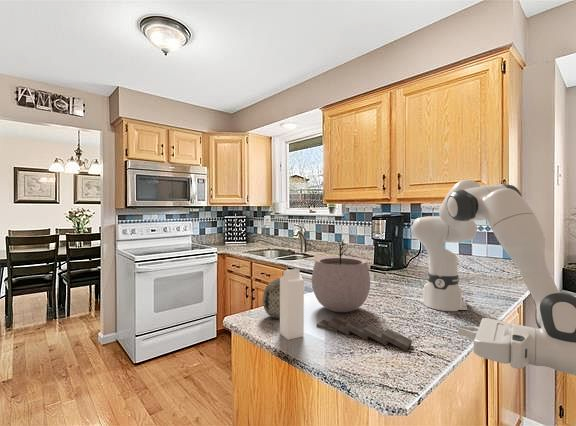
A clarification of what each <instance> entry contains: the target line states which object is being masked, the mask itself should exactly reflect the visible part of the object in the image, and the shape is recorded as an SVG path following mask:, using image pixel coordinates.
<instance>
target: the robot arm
mask: <svg viewBox="0 0 576 426" xmlns="http://www.w3.org/2000/svg"><path fill="white" fill-rule="evenodd" d="M438 215H439V216H438ZM438 215H436V216H434V215H431V216H430V215H427V216H421V217H418V218H415V219H414V221H413V223H412V224H411V233H412V235H413V237H414V239H416V240H417V241H419V242H420V244H422V246H423V247H424V248H425V251H426V252H427V253H426V254H427V255H428V272H427V282H426V283H425V284H423V285H424V286H423V294H422V295H423V297H422V298H421V299H419V303H420V304H423V305H424V306H426V307H428V308H429V309H433V310H437V311H442V312H443V311H444V312H459V311H458V310H467V311H468V307H467V306H468V305H467V303H466V302H467V301H466V299H464V297H462V296H463V293H462V292H463V290H462V288H461V287H460V283H459V282H460V281H459V280H460V278H459V275H458V261H459V260H458V257H457V255H456V254H455V253H454V252H453V251H450V250H449V249H446V247H445V246H444V243H448V242H449V243H461V242H462V243H463V242H468V241H472V240H473V239H475V237H476V235H477V233H478V227H477V224H476V222H475V221H483V220H487V221H488V223H489V226H490V228H491V230H492V233H493V234H494V237H495V238H496V239H497V241H498V242H499V245H501V247H502V248H503V250H504V251H505V252H506V254H507V256H508V257H509V258H510V259H511V261H512V262H513V263H514V265H515V266H516V268H517V269H518V270H519V273H520V274H521V276H522V278H523V281H524V283H525V285H526V287H527V289H528V292H529V293H530V295H531V297H532V299H533V303H534V305H535V310H534V311H535V312H534V313H535V317H534V318H535V324H536V326H537V327H531V326H528V325H527V326H526V325H520V324H516V323H513V324H511V323H509V322H506V321H501V320H499V319H493V318H489V317H482V318H481V320H480V324H479V326H473V325H472V326H469V325H468V326H465V325H459V327H458V328H457V335H459V336H463V337H466V338H467V339H469V340H471V341H473V353H474V354H475V355H476V356H478V357H480V358H483V359H485V360H490V361H492V362H495V363H500V364H503V365H504V364H506V365H507V364H509V366H510V367H511V368H513V369H517V370H521V369H524V368H525V367H527V366H529V365H531V366H536V367H546V368H549V369H553V370H555V371H556V372H560V373H563V374H568V375H572V376H576V296H574V295H572V294H569V293H564V292H560V291H559V289H558V287H557V285H556V283H555V281H554V278H553V277H552V275H551V273H550V271H549V269H548V267H547V263H546V255H545V249H546V246H545V245H546V239H545V238H546V237H545V236H544V235H545V234H544V232H543V228H542V226H541V224H540V221H539V220H538V218H537V216H536V214H535V212H534V211H533V210H532V208H531V207H530V206H529V204H528V203H527V202H526V200H525V199H524V198H523V196H522V193H521V191H520V190H519V189H518V188H517V187H516V186H515V185H513V184H504V183H501V184H496V185H495V184H494V185H491V184H489V185H480V184H479V182H476V181H475V180H472V179H462V180H460V181H458V182H456V183H455V184H454V185H453V186H452V187H451V189H449V191H448V192H447V194H446V195H445V198H443V201H442V203H440V206H439V209H438Z"/></svg>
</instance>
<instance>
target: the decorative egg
mask: <svg viewBox="0 0 576 426" xmlns="http://www.w3.org/2000/svg"><path fill="white" fill-rule="evenodd" d="M262 305H263V308H264V309H263V310H264V311H265V313H266V314H267V315H268V316H270V317H271V318H273V319H280V278H275V279H272V280H271V281H270V282H269V283H268V284H267V285H266V286H265V288H264V291H263V296H262Z"/></svg>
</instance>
